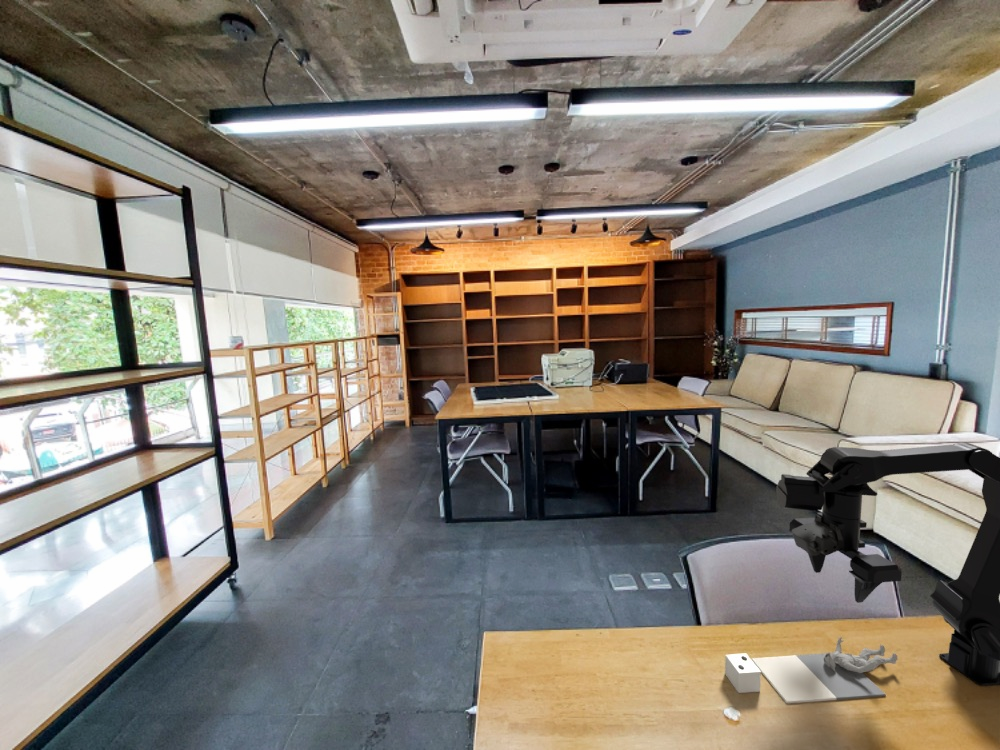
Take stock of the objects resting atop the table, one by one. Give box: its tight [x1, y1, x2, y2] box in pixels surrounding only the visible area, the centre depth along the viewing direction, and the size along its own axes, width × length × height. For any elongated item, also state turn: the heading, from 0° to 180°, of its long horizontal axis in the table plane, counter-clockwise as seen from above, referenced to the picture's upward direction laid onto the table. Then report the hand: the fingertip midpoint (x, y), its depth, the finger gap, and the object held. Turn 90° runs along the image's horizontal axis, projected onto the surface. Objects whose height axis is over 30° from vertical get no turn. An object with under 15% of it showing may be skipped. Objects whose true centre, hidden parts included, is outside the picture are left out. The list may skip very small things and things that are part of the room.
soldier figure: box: [824, 636, 899, 674], centre depth 74 cm, size 8×5×12 cm
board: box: [751, 652, 887, 704], centre depth 73 cm, size 18×9×1 cm, turn 92°
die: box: [724, 652, 762, 694], centre depth 72 cm, size 4×4×4 cm
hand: (836, 586), depth 78 cm, fingers open, 9 cm apart
